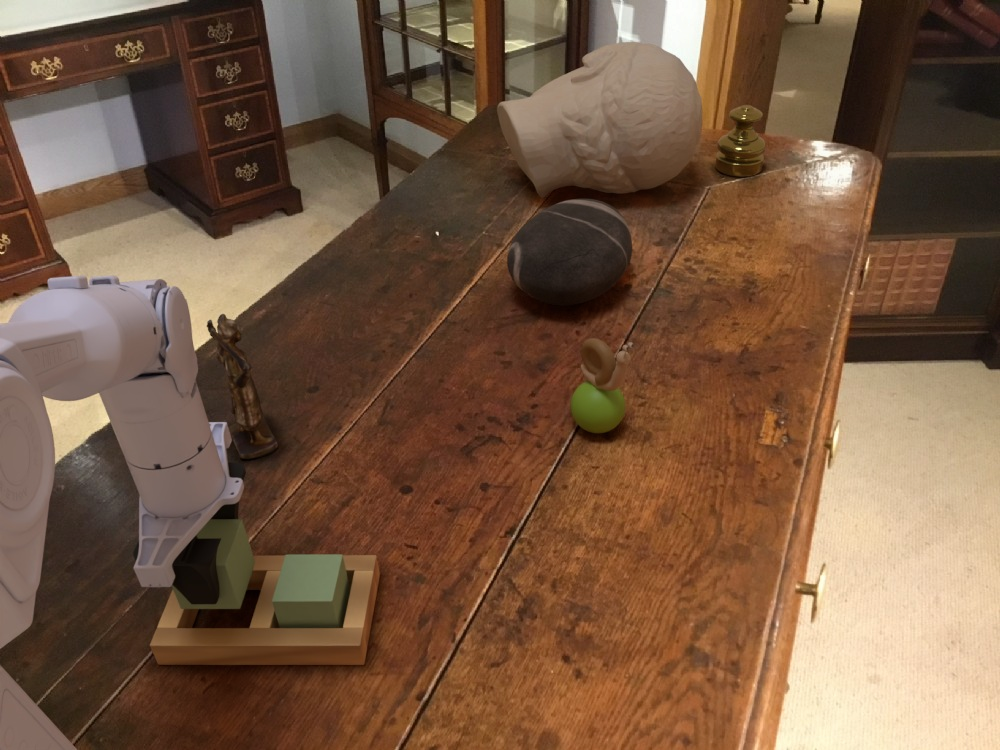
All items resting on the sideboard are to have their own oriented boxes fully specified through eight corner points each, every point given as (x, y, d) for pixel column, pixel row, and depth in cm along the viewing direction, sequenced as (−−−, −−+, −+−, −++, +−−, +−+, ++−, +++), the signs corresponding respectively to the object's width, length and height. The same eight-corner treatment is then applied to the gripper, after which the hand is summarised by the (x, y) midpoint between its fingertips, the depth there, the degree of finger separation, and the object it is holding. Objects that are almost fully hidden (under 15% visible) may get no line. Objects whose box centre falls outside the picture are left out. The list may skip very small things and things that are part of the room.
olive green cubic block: (240, 609, 65) (225, 565, 62) (180, 609, 65) (162, 565, 62) (255, 562, 68) (242, 518, 65) (199, 562, 68) (183, 519, 65)
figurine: (284, 460, 84) (253, 333, 75) (246, 473, 83) (209, 346, 74) (264, 418, 89) (232, 295, 80) (227, 430, 88) (191, 307, 79)
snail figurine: (603, 457, 83) (608, 356, 76) (559, 425, 87) (560, 326, 80) (642, 433, 85) (651, 334, 78) (597, 403, 89) (602, 306, 82)
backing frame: (364, 665, 65) (360, 645, 63) (158, 665, 66) (149, 645, 64) (380, 574, 72) (376, 554, 70) (193, 575, 73) (186, 555, 71)
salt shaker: (772, 171, 135) (782, 108, 129) (736, 181, 132) (745, 118, 126) (740, 155, 140) (748, 95, 134) (704, 166, 137) (712, 104, 131)
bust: (506, 163, 144) (685, 140, 142) (509, 233, 126) (714, 208, 123) (489, 39, 131) (685, 11, 129) (490, 97, 113) (718, 65, 111)
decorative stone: (545, 242, 118) (545, 174, 112) (647, 259, 113) (652, 189, 107) (489, 312, 104) (486, 239, 98) (602, 335, 99) (606, 260, 93)
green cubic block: (341, 642, 67) (332, 601, 64) (283, 642, 67) (271, 601, 64) (351, 594, 70) (342, 554, 67) (296, 594, 71) (285, 554, 68)
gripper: (192, 519, 52) (240, 654, 60) (253, 375, 63) (287, 505, 71) (78, 520, 52) (141, 654, 60) (160, 376, 63) (203, 505, 72)
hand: (214, 573), depth 66 cm, fingers closed on olive green cubic block, 4 cm apart
